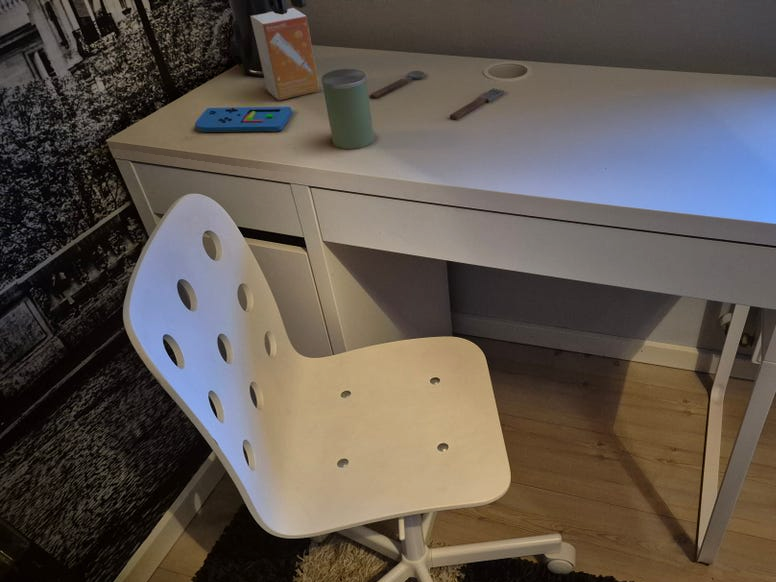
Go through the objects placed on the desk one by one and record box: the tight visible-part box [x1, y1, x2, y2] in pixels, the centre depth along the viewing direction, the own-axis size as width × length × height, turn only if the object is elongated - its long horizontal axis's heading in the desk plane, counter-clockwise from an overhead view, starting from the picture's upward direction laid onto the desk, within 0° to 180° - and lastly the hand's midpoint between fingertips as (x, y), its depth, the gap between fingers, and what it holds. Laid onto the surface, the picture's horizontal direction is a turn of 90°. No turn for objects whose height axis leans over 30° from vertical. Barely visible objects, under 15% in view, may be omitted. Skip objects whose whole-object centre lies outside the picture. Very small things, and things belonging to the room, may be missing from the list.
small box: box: [251, 7, 320, 101], centre depth 119 cm, size 8×6×13 cm
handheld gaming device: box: [194, 106, 293, 133], centre depth 113 cm, size 8×1×15 cm
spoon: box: [369, 70, 425, 100], centre depth 124 cm, size 14×3×1 cm, turn 146°
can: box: [321, 68, 375, 150], centre depth 104 cm, size 7×7×10 cm
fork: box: [449, 87, 505, 121], centre depth 116 cm, size 14×2×1 cm, turn 146°
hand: (289, 9), depth 88 cm, fingers open, 3 cm apart
